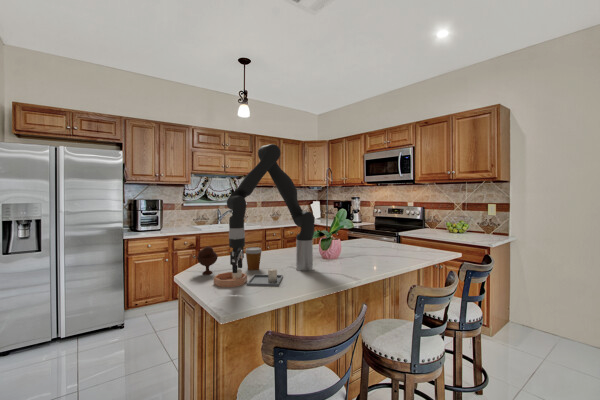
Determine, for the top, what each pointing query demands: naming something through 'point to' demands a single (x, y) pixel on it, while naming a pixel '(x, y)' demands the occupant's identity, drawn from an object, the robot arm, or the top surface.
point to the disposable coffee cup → (253, 258)
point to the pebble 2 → (272, 275)
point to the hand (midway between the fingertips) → (237, 270)
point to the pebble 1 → (237, 274)
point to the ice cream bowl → (207, 258)
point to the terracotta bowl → (229, 280)
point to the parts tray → (263, 280)
